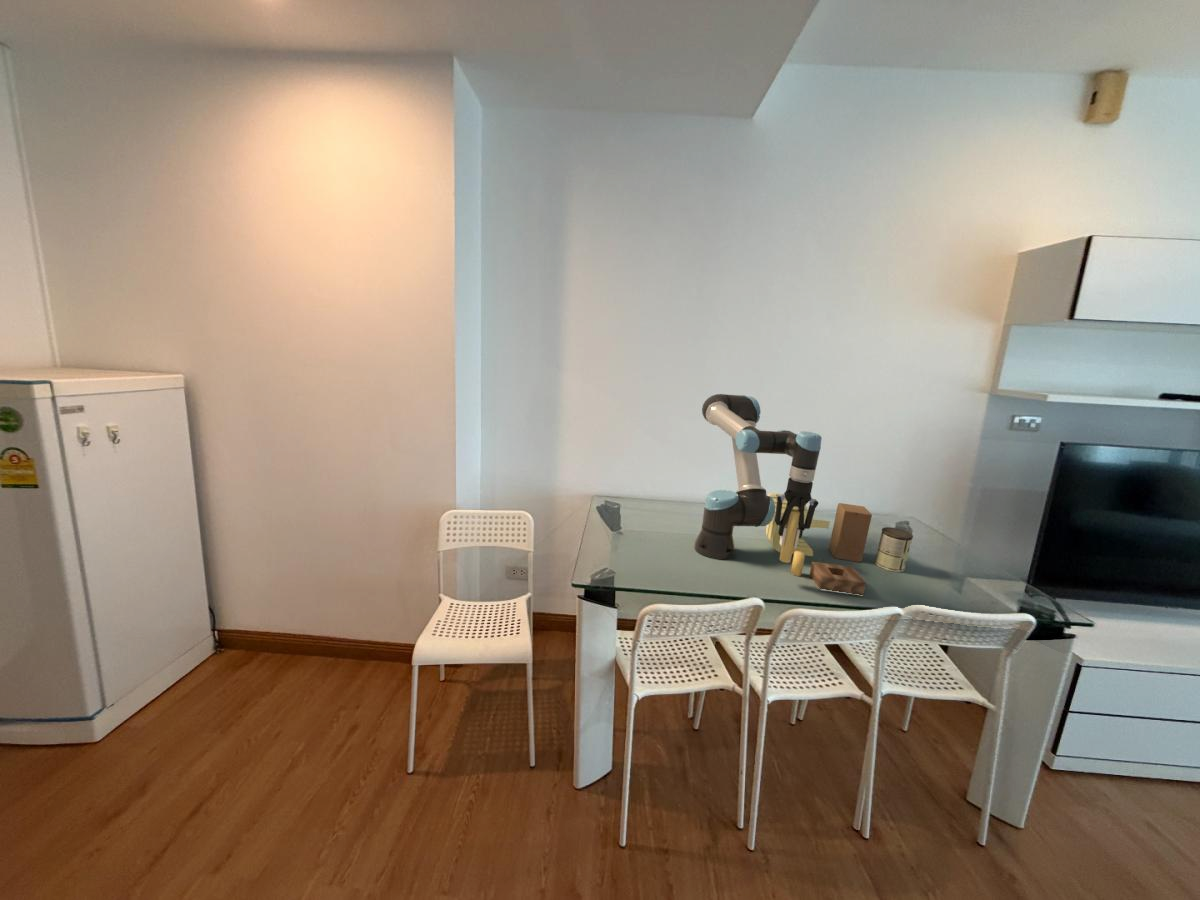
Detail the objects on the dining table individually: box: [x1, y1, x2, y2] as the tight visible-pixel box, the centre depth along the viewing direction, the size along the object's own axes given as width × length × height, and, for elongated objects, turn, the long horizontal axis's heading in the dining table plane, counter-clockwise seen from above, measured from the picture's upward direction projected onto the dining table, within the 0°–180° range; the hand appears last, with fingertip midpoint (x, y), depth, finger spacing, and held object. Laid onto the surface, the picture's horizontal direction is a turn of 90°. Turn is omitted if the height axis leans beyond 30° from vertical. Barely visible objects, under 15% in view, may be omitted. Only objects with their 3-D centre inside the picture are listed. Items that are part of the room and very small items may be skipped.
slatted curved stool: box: [765, 492, 831, 557], centre depth 201 cm, size 30×16×18 cm, turn 176°
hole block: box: [809, 561, 867, 596], centre depth 172 cm, size 14×12×5 cm
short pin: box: [790, 551, 806, 577], centre depth 178 cm, size 4×4×8 cm
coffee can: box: [874, 526, 914, 573], centre depth 191 cm, size 10×10×14 cm
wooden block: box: [828, 502, 873, 563], centre depth 197 cm, size 10×10×20 cm
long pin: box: [779, 509, 800, 564], centre depth 167 cm, size 4×4×18 cm
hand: (787, 545), depth 168 cm, fingers closed on long pin, 3 cm apart
